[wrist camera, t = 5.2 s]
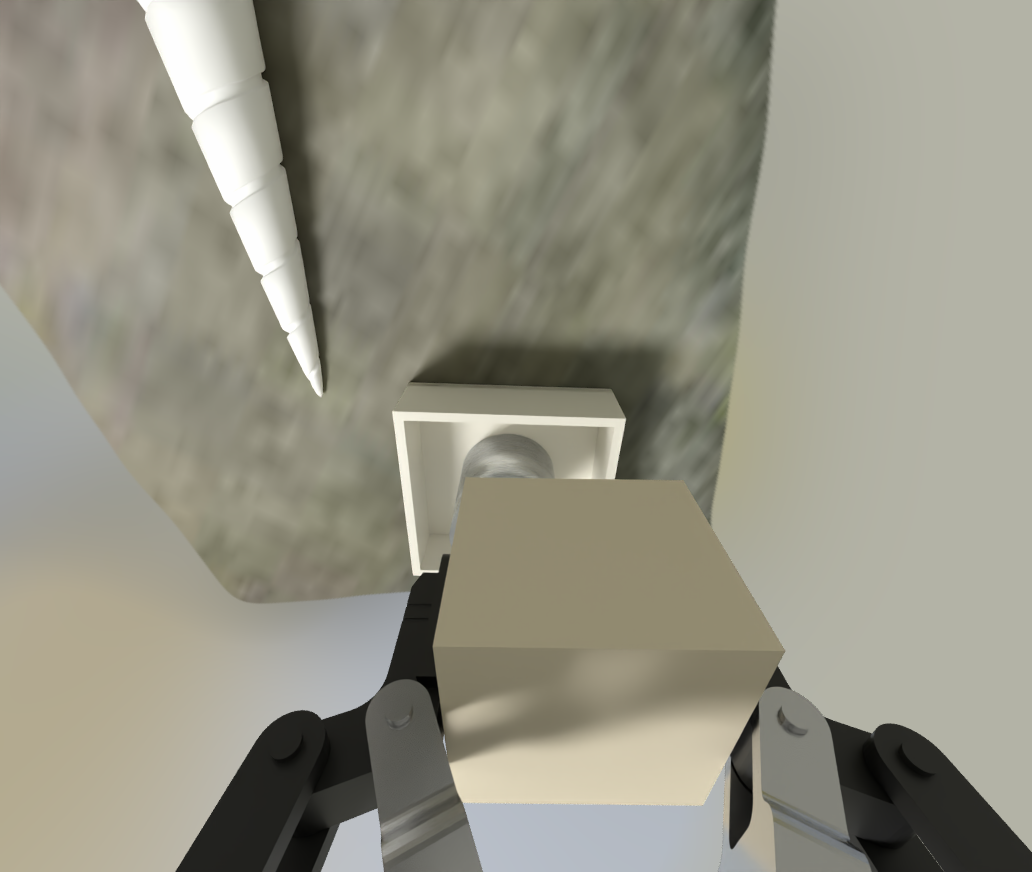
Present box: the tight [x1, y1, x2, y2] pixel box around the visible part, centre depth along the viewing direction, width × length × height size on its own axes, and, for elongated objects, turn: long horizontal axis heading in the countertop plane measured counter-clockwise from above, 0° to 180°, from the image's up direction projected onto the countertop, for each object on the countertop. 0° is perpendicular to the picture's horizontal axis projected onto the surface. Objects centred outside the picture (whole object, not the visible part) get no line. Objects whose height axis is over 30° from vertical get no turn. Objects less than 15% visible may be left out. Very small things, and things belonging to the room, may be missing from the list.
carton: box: [433, 477, 785, 806], centre depth 11 cm, size 6×6×5 cm
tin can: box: [449, 434, 555, 547], centre depth 29 cm, size 7×7×7 cm
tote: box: [392, 382, 626, 576], centre depth 30 cm, size 14×14×4 cm
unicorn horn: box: [137, 0, 323, 397], centre depth 21 cm, size 5×24×5 cm, turn 177°
